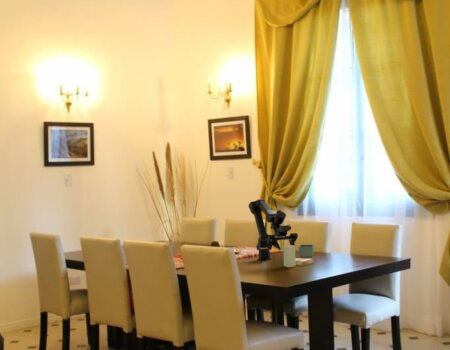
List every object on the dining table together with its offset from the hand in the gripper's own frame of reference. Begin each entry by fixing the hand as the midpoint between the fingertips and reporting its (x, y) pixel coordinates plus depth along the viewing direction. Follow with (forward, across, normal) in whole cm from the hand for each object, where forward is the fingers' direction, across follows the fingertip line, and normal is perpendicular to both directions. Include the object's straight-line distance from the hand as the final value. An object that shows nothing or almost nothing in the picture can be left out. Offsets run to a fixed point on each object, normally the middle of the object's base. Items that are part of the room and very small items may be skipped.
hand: (287, 249), depth 369 cm
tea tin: (+8, 0, +5) cm, 10 cm away
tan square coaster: (+5, +10, +9) cm, 14 cm away
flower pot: (-3, +20, +17) cm, 27 cm away
